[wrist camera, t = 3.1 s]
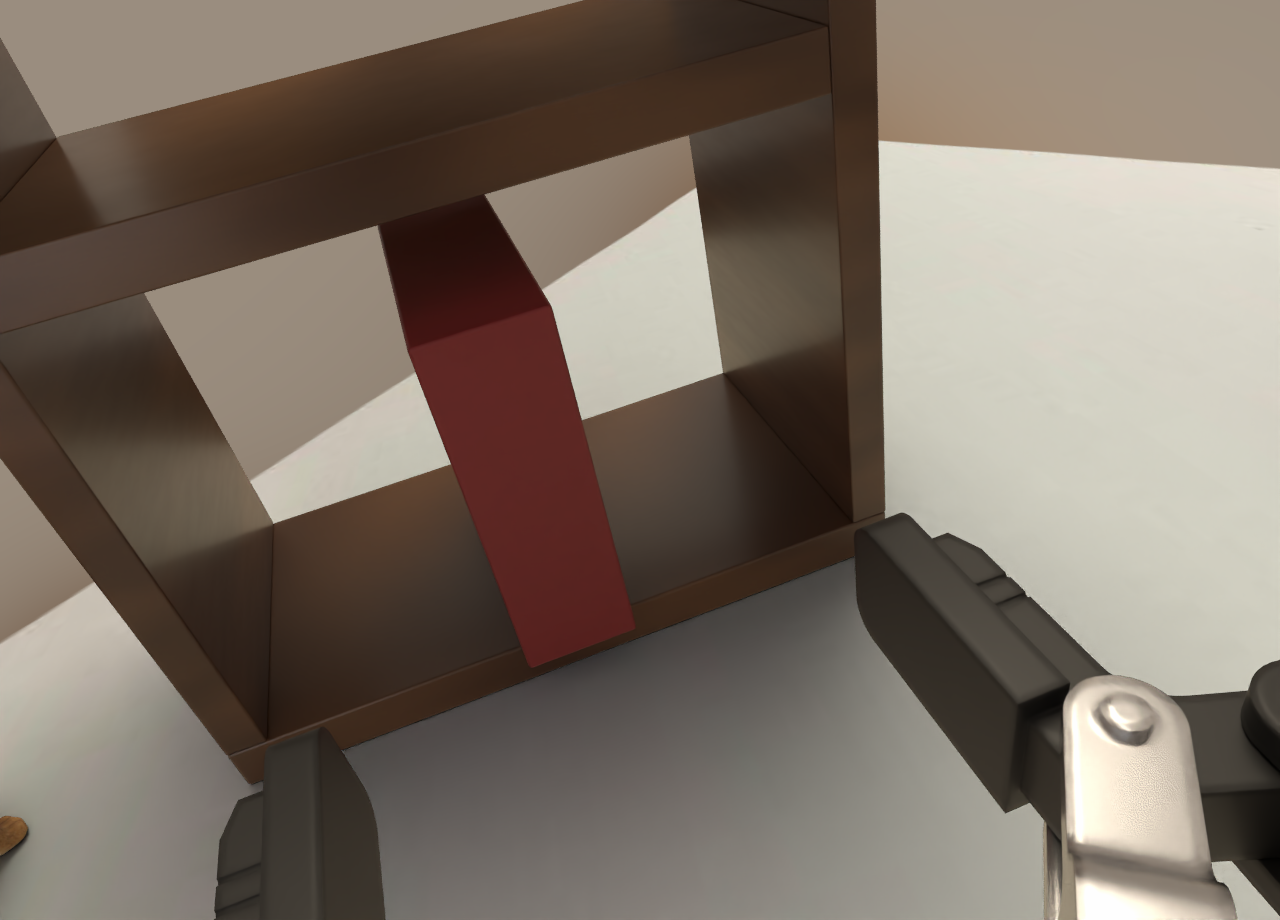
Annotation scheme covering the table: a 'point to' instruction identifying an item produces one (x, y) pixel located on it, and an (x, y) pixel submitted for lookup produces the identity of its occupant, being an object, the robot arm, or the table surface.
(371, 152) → the bookcase
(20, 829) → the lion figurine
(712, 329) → the table surface
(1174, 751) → the robot arm
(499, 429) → the book
